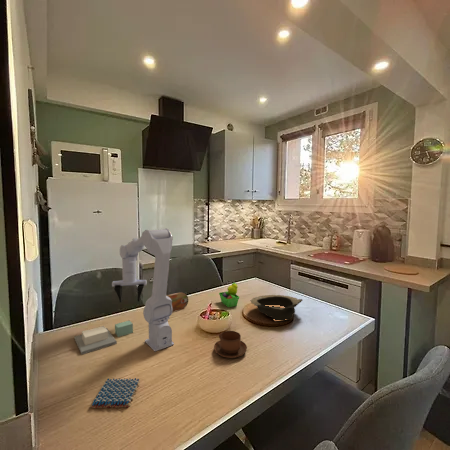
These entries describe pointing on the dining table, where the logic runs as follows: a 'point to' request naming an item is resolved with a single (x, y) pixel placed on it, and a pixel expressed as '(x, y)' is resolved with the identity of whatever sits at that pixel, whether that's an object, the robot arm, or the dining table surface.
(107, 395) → the woven mat
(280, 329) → the dining table surface
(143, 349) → the dining table surface
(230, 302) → the fruit basket
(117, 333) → the brick
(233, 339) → the cup and saucer
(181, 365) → the dining table surface
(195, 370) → the dining table surface
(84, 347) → the baseplate
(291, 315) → the stone bowl
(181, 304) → the tin
